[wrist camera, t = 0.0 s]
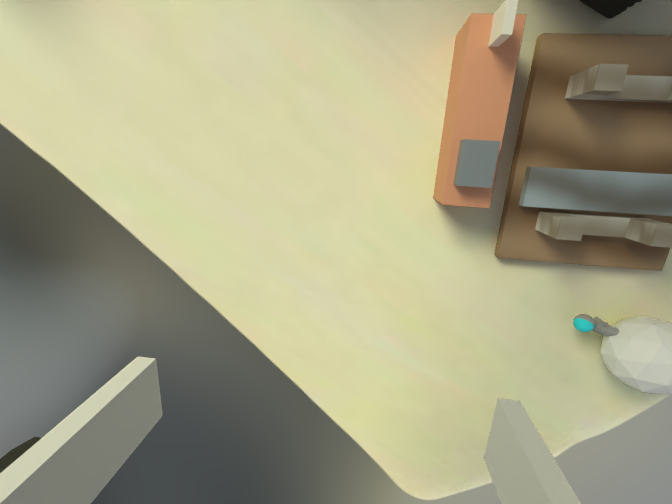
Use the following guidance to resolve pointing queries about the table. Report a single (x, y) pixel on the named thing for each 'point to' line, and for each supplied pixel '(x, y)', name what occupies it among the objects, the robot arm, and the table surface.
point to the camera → (610, 6)
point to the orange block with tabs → (478, 106)
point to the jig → (593, 154)
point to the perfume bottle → (635, 350)
